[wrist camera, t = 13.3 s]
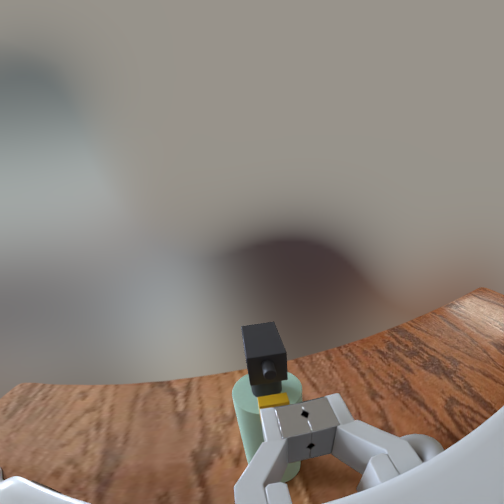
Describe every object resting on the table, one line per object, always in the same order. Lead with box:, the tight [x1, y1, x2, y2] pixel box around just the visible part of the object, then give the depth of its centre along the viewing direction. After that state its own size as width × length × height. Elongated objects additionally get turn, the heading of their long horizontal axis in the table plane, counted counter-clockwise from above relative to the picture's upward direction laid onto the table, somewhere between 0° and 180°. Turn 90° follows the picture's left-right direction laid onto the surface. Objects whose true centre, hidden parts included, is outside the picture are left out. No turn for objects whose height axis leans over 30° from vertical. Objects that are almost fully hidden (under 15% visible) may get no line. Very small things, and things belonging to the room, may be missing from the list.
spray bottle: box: [232, 322, 302, 483], centre depth 25 cm, size 7×8×22 cm
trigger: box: [257, 392, 290, 425], centre depth 19 cm, size 2×1×3 cm, turn 96°
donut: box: [401, 434, 444, 463], centre depth 22 cm, size 10×3×10 cm
